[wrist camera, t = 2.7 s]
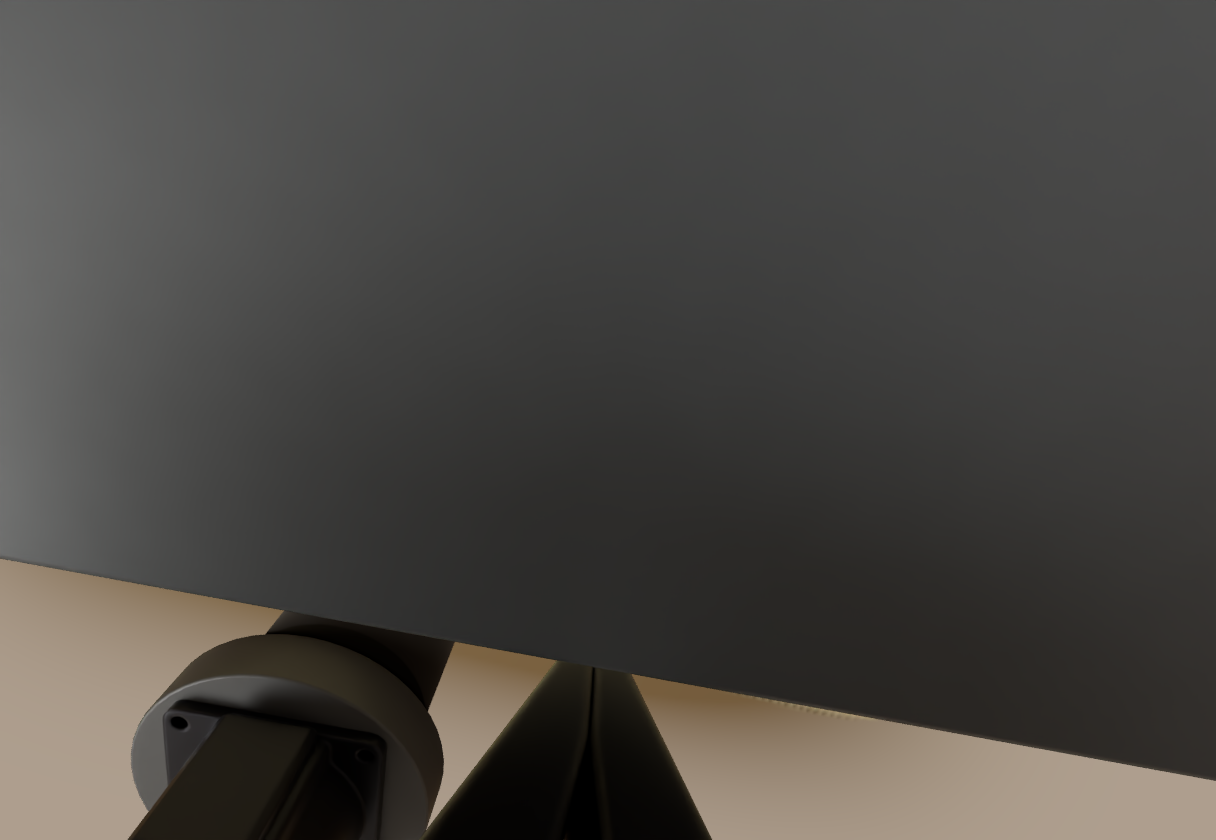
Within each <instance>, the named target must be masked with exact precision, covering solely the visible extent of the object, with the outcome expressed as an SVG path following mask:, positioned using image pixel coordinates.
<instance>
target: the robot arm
mask: <svg viewBox="0 0 1216 840" xmlns="http://www.w3.org/2000/svg"><path fill="white" fill-rule="evenodd" d="M162 724H163V735H164V747H165V759H166V771H167V783H168V787H167V788H166V789H165V791H164V792H163V793H162V795H161V796H160V797H159V799H158V800H157V801H156V803H155V804H154V805H153V807H152V808H151V809H150V811H149V812H148V813H147V815H146V816H145V817H144V819H143V820H142V821H141V823H140V824H139V825H138V827H137V828H136V829H135V830H134V832H133V833H132V835H131V836H130V837H129V838H128V840H380V830H381V817H382V805H383V793H384V781H385V769H386V757H387V744H386V742H385V741H384V739H383V738H381V737H380V736H379V735H376V734H373V733H369V732H364V731H358V730H353V729H347V728H341V727H336V726H330V725H325V724H319V723H314V722H308V721H302V720H297V719H291V718H286V717H280V716H275V715H269V714H264V713H258V712H252V711H247V710H241V709H236V708H230V707H225V706H219V705H213V704H208V703H202V702H197V701H191V700H178V701H175V702H174V703H173V704H172V706H171V707H170V708H169V709H168V710H167V711H166V713H165V714H164V715H163V718H162ZM367 750H368V751H367ZM419 840H712V839H711V836H710V835H709V832H708V830H707V828H706V826H705V824H704V822H703V820H702V818H701V816H700V814H699V812H698V810H697V808H696V806H695V804H694V802H693V800H692V798H691V796H690V793H689V791H688V789H687V787H686V785H685V783H684V781H683V779H682V777H681V775H680V773H679V771H678V769H677V767H676V765H675V763H674V761H673V759H672V757H671V755H670V753H669V750H668V748H667V746H666V744H665V742H664V740H663V738H662V736H661V734H660V732H659V730H658V728H657V726H656V724H655V722H654V720H653V718H652V716H651V714H650V712H649V709H648V707H647V705H646V703H645V701H644V699H643V697H642V695H641V693H640V691H639V689H638V687H637V685H636V683H635V681H634V679H633V677H632V675H631V674H629V673H624V672H618V671H613V670H607V669H602V668H596V667H591V666H585V665H580V664H574V663H569V662H563V661H558V660H557V661H556V662H555V663H554V665H553V666H552V667H551V669H550V670H549V671H548V672H547V674H546V675H545V677H544V678H543V679H542V680H541V682H540V683H539V684H538V686H537V687H536V688H535V689H534V691H533V692H532V693H531V695H530V696H529V697H528V699H527V700H526V701H525V702H524V704H523V705H522V706H521V708H520V709H519V710H518V712H517V713H516V714H515V715H514V717H513V718H512V719H511V721H510V722H509V723H508V724H507V726H506V727H505V728H504V730H503V731H502V732H501V734H500V735H499V736H498V738H497V739H496V740H495V741H494V743H493V744H492V745H491V747H490V748H489V749H488V750H487V752H486V753H485V755H484V756H483V757H482V758H481V760H480V761H479V762H478V764H477V765H476V766H475V767H474V769H473V770H472V771H471V773H470V774H469V775H468V777H467V778H466V779H465V781H464V782H463V783H462V785H461V786H460V787H459V788H458V790H457V791H456V792H455V794H454V795H453V796H452V797H451V799H450V800H449V801H448V803H447V804H446V805H445V807H444V808H443V809H442V810H441V812H440V813H439V814H438V816H437V817H436V818H435V820H434V821H433V822H432V823H431V825H430V826H429V827H428V829H427V830H426V831H425V832H424V834H423V835H422V836H421V838H420V839H419Z"/></svg>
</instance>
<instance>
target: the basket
mask: <svg viewBox="0 0 1216 840" xmlns="http://www.w3.org/2000/svg"><path fill="white" fill-rule="evenodd" d="M0 559H6V560H11V561H17V562H22V563H28V564H33V565H38V566H45V567H49V568H55V569H61V570H66V571H72V572H77V573H82V574H88V575H93V576H99V577H104V578H110V579H115V580H121V581H126V582H132V583H137V584H143V585H148V586H153V587H159V588H164V589H170V590H175V591H181V592H186V593H192V594H197V595H203V596H208V597H213V598H219V599H225V600H230V601H235V602H241V603H246V604H252V605H258V606H263V607H268V608H274V609H279V610H285V611H290V612H295V613H301V614H306V615H312V616H317V617H323V618H328V619H334V620H339V621H345V622H350V623H356V624H361V625H367V626H372V627H378V628H383V629H388V630H394V631H399V632H405V633H410V634H416V635H421V636H427V637H432V638H438V639H443V640H449V641H454V642H460V643H465V644H470V645H476V646H482V647H487V648H493V649H498V650H504V651H509V652H514V653H521V654H526V655H531V656H536V657H542V658H547V659H553V660H558V661H563V662H569V663H574V664H580V665H585V666H591V667H596V668H602V669H607V670H613V671H618V672H624V673H629V674H635V675H640V676H646V677H651V678H656V679H662V680H667V681H673V682H678V683H684V684H689V685H695V686H700V687H706V688H712V689H717V690H722V691H727V692H733V693H738V694H744V695H749V696H755V697H760V698H766V699H771V700H777V701H782V702H788V703H793V704H799V705H804V706H810V707H815V708H820V709H826V710H831V711H837V712H842V713H848V714H853V715H859V716H864V717H870V718H875V719H881V720H886V721H892V722H897V723H902V724H908V725H914V726H919V727H925V728H930V729H936V730H941V731H947V732H952V733H957V734H963V735H968V736H974V737H979V738H985V739H990V740H996V741H1001V742H1007V743H1012V744H1017V745H1023V746H1028V747H1034V748H1039V749H1045V750H1050V751H1056V752H1061V753H1067V754H1072V755H1078V756H1083V757H1088V758H1094V759H1100V760H1105V761H1111V762H1116V763H1122V764H1127V765H1132V766H1138V767H1143V768H1149V769H1154V770H1160V771H1166V772H1170V773H1176V774H1182V775H1187V776H1193V777H1198V778H1203V779H1209V780H1214V781H1216V0H0Z"/></svg>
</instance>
